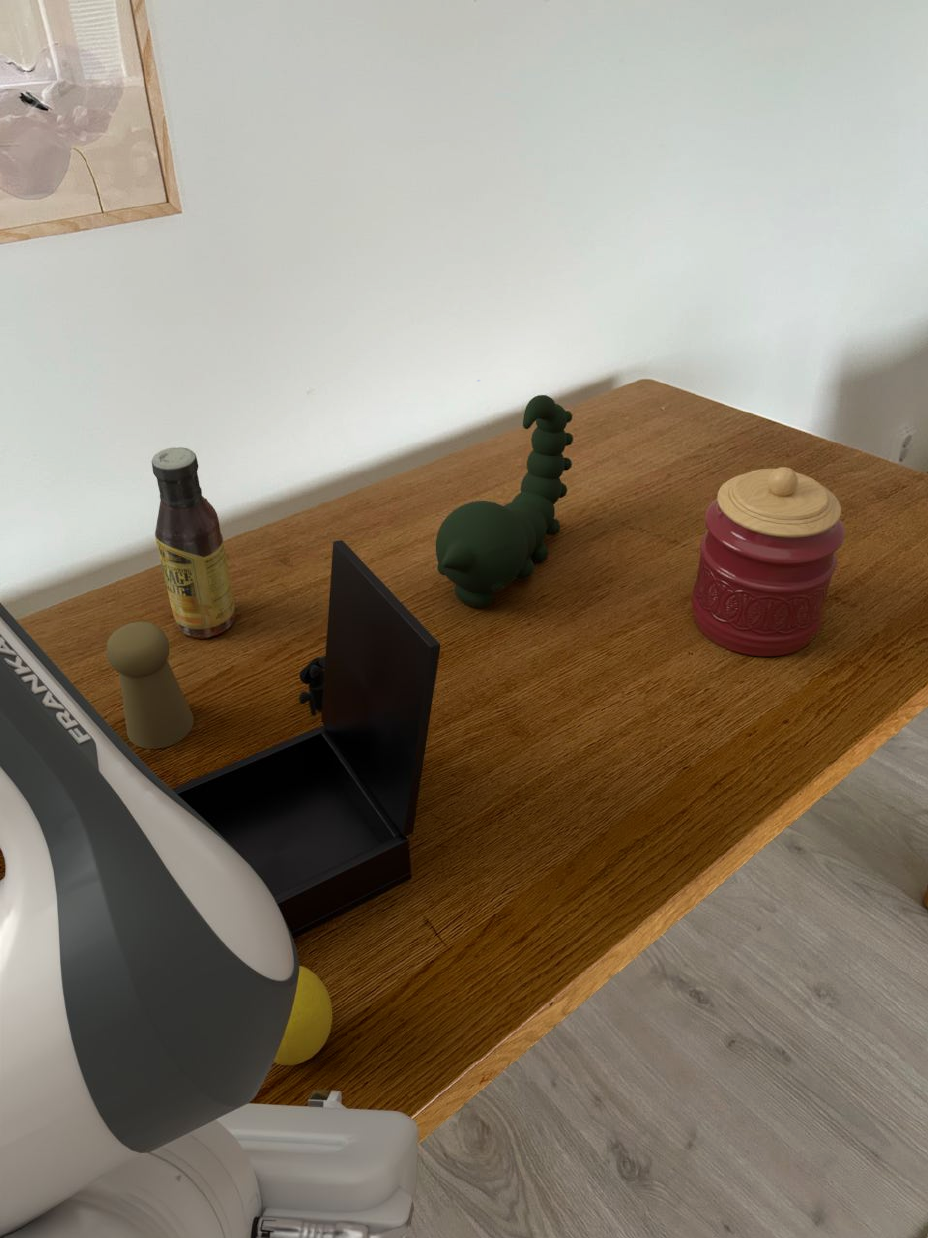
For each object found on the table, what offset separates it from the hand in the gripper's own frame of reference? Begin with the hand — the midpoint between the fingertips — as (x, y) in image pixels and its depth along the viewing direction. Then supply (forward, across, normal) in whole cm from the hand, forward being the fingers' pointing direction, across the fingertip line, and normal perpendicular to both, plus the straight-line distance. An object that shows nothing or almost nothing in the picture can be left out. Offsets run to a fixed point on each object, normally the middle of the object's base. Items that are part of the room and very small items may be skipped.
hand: (239, 1101), depth 52 cm
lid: (+19, -3, -23) cm, 30 cm away
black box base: (+25, +5, -9) cm, 27 cm away
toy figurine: (+54, -12, -37) cm, 66 cm away
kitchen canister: (+48, -38, -32) cm, 70 cm away
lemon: (+15, 0, +2) cm, 15 cm away
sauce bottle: (+46, +18, -30) cm, 58 cm away
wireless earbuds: (+38, +4, -22) cm, 45 cm away
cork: (+36, +19, -19) cm, 45 cm away
